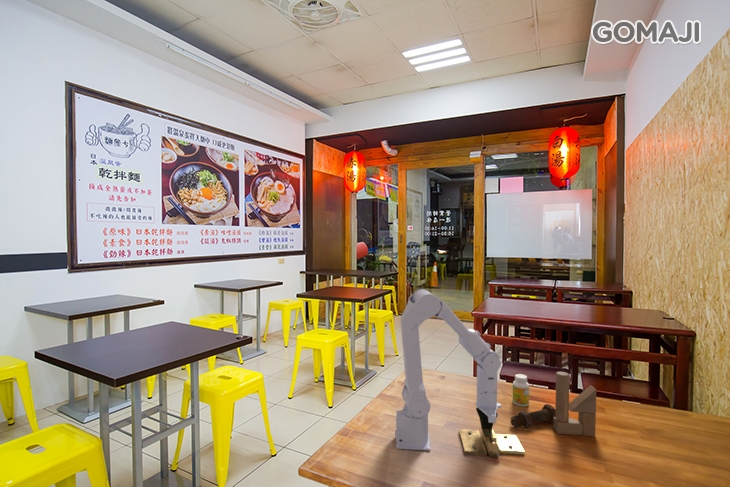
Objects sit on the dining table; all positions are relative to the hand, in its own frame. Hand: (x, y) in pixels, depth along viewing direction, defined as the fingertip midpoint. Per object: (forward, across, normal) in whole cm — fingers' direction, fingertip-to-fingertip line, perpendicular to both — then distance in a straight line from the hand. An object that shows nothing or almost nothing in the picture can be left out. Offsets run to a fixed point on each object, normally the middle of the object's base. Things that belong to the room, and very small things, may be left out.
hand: (486, 434), depth 108 cm
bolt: (+2, +9, -16) cm, 19 cm away
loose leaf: (+1, -3, -3) cm, 5 cm away
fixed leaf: (+1, -4, +3) cm, 5 cm away
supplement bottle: (+1, +24, -17) cm, 29 cm away
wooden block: (+1, +6, -27) cm, 28 cm away
